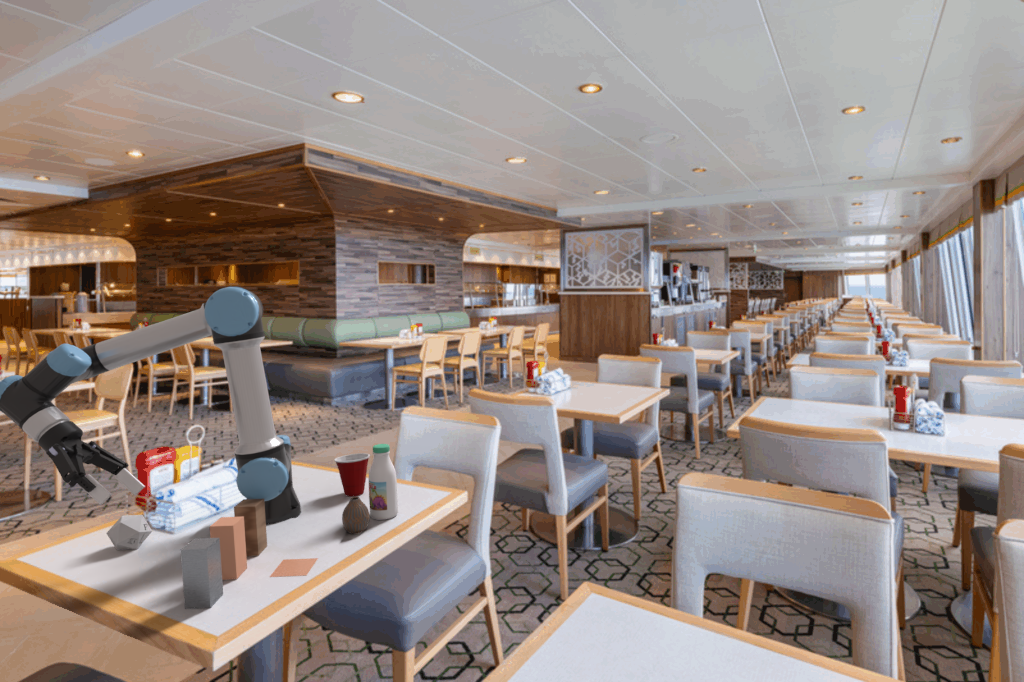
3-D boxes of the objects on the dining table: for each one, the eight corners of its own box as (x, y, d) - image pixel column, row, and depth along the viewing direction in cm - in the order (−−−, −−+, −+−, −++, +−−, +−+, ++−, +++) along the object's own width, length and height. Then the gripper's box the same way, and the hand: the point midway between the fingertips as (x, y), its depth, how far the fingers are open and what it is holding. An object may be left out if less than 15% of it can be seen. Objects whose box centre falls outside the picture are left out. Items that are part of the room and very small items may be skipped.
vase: (355, 538, 140) (353, 505, 140) (337, 532, 144) (335, 500, 143) (375, 528, 146) (374, 496, 146) (357, 523, 150) (355, 492, 149)
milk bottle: (388, 507, 161) (385, 440, 159) (403, 514, 155) (400, 445, 154) (364, 515, 155) (361, 446, 154) (379, 523, 150) (376, 450, 148)
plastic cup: (361, 485, 181) (359, 449, 180) (378, 493, 173) (376, 455, 172) (330, 493, 174) (328, 456, 173) (345, 502, 166) (343, 463, 165)
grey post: (184, 608, 108) (180, 549, 107) (198, 595, 113) (194, 538, 112) (210, 607, 108) (206, 548, 108) (223, 594, 113) (219, 537, 113)
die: (118, 560, 133) (145, 524, 135) (91, 541, 134) (118, 506, 137) (140, 557, 141) (165, 523, 143) (114, 539, 142) (139, 505, 144)
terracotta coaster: (283, 562, 128) (283, 559, 128) (318, 561, 128) (318, 558, 128) (269, 580, 120) (269, 576, 120) (306, 578, 120) (306, 575, 120)
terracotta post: (213, 580, 119) (209, 526, 118) (224, 568, 124) (221, 517, 123) (236, 579, 119) (233, 525, 118) (247, 568, 124) (243, 516, 123)
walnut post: (237, 556, 130) (233, 507, 129) (246, 547, 135) (243, 499, 134) (258, 555, 130) (255, 506, 129) (267, 546, 135) (264, 498, 134)
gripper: (76, 441, 136) (140, 499, 136) (-3, 447, 112) (74, 518, 112) (100, 418, 138) (163, 476, 138) (27, 419, 113) (104, 489, 113)
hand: (124, 495), depth 125 cm, fingers open, 13 cm apart
